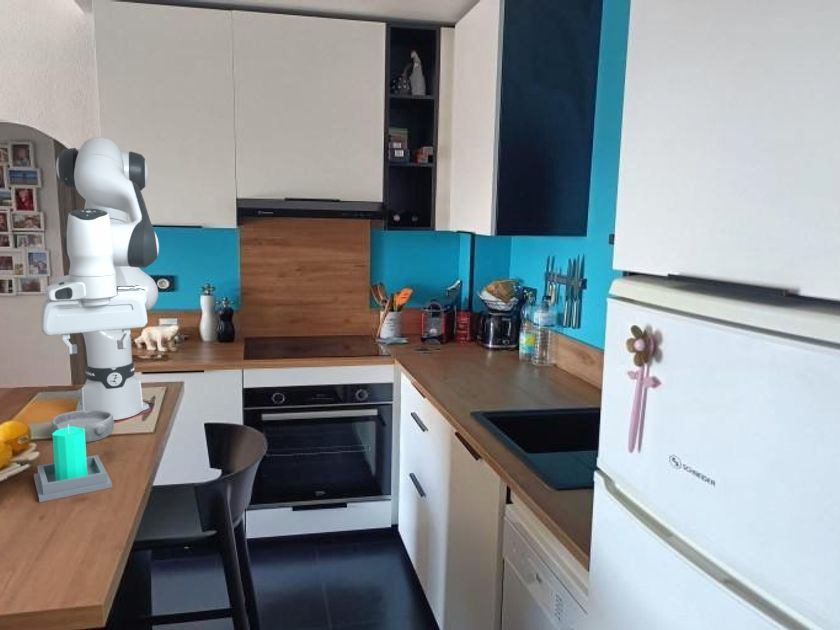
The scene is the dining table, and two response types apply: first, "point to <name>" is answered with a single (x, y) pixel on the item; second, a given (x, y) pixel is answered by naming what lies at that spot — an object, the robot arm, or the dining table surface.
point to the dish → (86, 423)
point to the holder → (71, 481)
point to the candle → (69, 453)
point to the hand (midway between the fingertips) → (97, 351)
